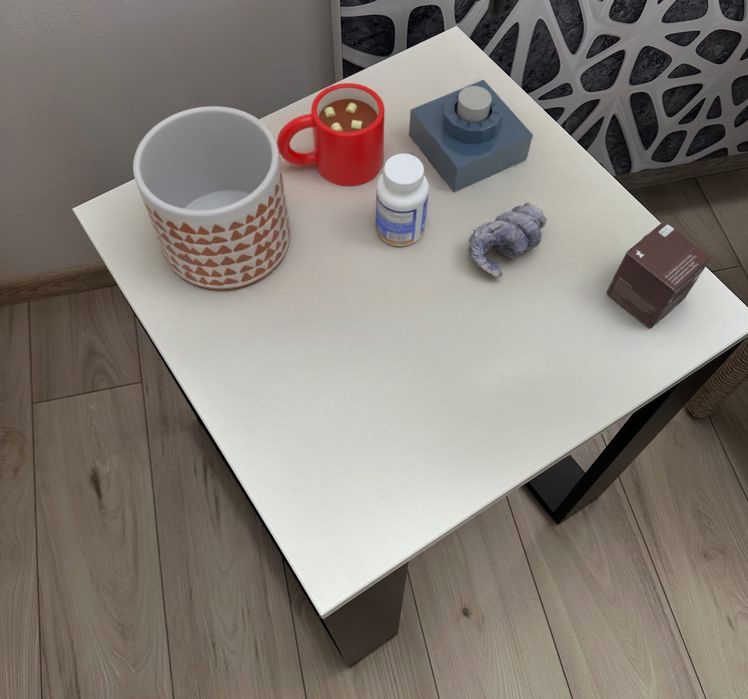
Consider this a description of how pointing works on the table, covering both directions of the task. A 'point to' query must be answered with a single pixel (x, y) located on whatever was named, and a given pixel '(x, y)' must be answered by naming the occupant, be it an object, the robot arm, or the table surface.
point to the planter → (215, 195)
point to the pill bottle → (401, 200)
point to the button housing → (468, 139)
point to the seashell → (507, 236)
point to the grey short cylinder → (474, 104)
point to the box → (657, 274)
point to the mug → (341, 134)
